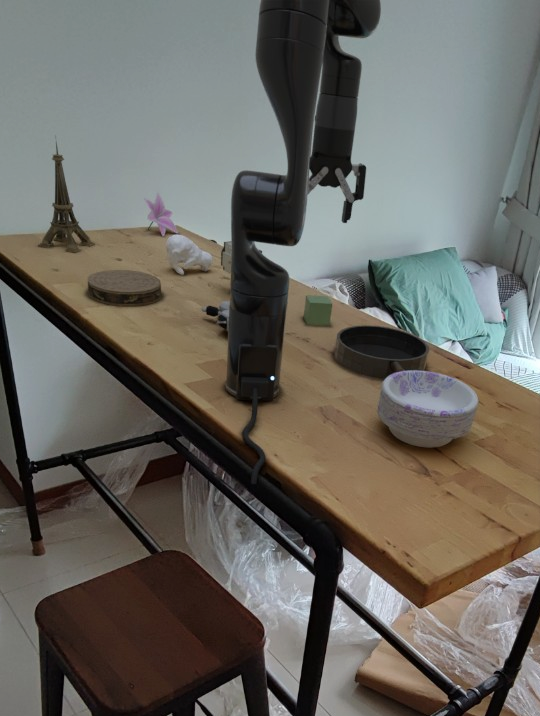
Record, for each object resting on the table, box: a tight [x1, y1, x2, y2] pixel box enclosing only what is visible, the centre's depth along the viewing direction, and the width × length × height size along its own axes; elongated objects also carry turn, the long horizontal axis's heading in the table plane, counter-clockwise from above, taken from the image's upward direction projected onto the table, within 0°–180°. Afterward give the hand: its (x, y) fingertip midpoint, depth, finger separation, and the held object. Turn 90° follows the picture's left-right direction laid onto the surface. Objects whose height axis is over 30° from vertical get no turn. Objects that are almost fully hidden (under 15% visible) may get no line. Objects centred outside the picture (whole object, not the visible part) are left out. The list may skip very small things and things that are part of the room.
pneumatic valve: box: [220, 240, 263, 275], centre depth 149 cm, size 6×12×12 cm, turn 36°
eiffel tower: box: [37, 135, 96, 254], centre depth 164 cm, size 11×11×25 cm
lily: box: [143, 191, 179, 237], centre depth 190 cm, size 12×12×10 cm
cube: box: [303, 294, 333, 326], centre depth 142 cm, size 5×5×5 cm
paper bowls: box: [376, 370, 479, 449], centre depth 103 cm, size 15×15×8 cm
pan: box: [333, 324, 430, 380], centre depth 127 cm, size 18×18×4 cm
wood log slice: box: [87, 269, 162, 307], centre depth 144 cm, size 16×16×3 cm
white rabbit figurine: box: [165, 234, 213, 276], centre depth 162 cm, size 6×8×12 cm
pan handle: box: [390, 361, 405, 373], centre depth 117 cm, size 9×2×2 cm, turn 9°
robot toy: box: [200, 300, 230, 332], centre depth 134 cm, size 12×4×15 cm
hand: (323, 220), depth 129 cm, fingers open, 8 cm apart
